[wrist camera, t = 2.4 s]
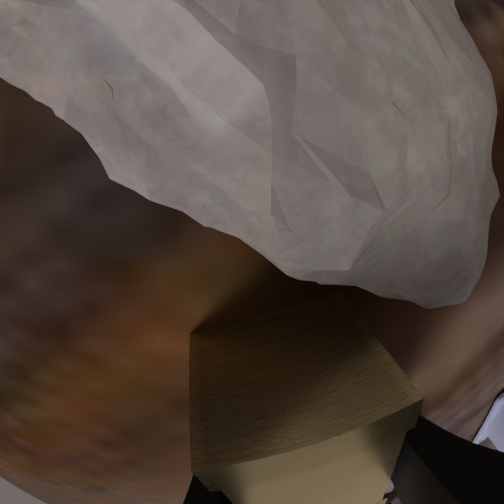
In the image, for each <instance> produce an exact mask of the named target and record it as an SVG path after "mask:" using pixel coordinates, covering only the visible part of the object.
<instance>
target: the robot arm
mask: <svg viewBox="0 0 504 504" xmlns="http://www.w3.org/2000/svg"><path fill="white" fill-rule="evenodd" d="M487 437H489V439H490V440H491V441H492V443H493V444H494V445H495V446H496V448H497V449H498V450H499V451H497V450H494V449H490V448H487V447H484V446H481V445H478V444H479V443H480V442H481V441H483V440H484V439H485V438H487ZM391 481H392V483H393V485H394V487H395V490H396V492H397V494H398V497H399V499H400V501H401V504H504V392H503V393H502V394H501V395H500V396H499V397H498V398H497V399H496V400H495V402H494V404H493V406H492V408H491V410H490V412H489V414H488V416H487V418H486V419H485V421H484V423H483V425H482V427H481V428H480V430H479V432H478V434H477V435H476V437H475V439H474V440H473V442H470V441H468V440H465V439H463V438H461V437H458V436H456V435H454V434H452V433H450V432H448V431H446V430H444V429H443V428H441V427H439V426H437V425H436V424H434V423H432V422H431V421H429V420H427V419H426V418H424V417H423V416H421V415H420V414H419V416H418V419H417V422H416V426H415V427H414V428H412V429H410V430H408V431H406V434H405V438H404V441H403V444H402V447H401V450H400V453H399V456H398V459H397V462H396V465H395V468H394V471H393V473H392V476H391ZM183 504H233V503H232V502H231V501H230V500H229V499H228V498H227V497H226V496H225V494H224V493H223V492H222V491H221V490H219V491H211V492H210V491H209V490H208V489H207V488H206V487H205V486H204V484H203V483H202V482H201V481H200V480H199V479H198V478H197V477H196V476H195V475H194V474H193V477H192V480H191V483H190V486H189V489H188V492H187V495H186V497H185V500H184V503H183Z"/></svg>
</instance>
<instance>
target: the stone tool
mask: <svg viewBox="0 0 504 504" xmlns="http://www.w3.org/2000/svg"><path fill="white" fill-rule="evenodd" d="M0 77H1V78H2V79H4V80H5V81H7V82H8V83H10V84H12V85H14V86H16V87H18V88H20V89H22V90H25V91H26V92H27V93H28V94H29V95H31V96H32V97H33V98H34V99H35V100H37V101H40V102H41V103H43V104H45V105H47V106H48V107H50V108H52V110H53V111H54V113H55V114H56V116H57V117H59V118H61V119H63V120H65V122H66V123H68V124H69V125H70V126H72V127H73V128H75V129H76V130H77V131H79V132H80V133H81V134H82V135H83V136H84V138H85V139H86V141H87V142H88V143H89V145H90V146H91V147H92V149H93V150H94V151H95V153H96V154H97V155H98V157H99V158H100V160H101V162H102V164H103V166H104V168H105V170H106V172H107V174H108V176H109V178H110V179H111V180H113V181H115V182H117V183H120V184H122V185H124V186H126V187H128V188H130V189H132V190H134V191H136V192H138V193H139V194H141V195H142V196H144V197H146V198H147V199H149V200H150V201H153V202H156V203H159V204H162V205H165V206H168V207H171V208H174V209H177V210H180V211H183V212H184V213H186V214H187V215H189V216H190V217H191V218H193V219H194V220H196V221H197V222H199V223H200V224H202V225H203V226H206V227H211V228H214V229H216V230H219V231H222V232H224V233H227V234H230V235H232V236H235V237H238V238H240V239H241V240H242V241H244V242H245V243H246V244H248V245H249V246H251V247H252V248H253V249H255V250H256V251H257V252H259V253H260V254H262V255H263V256H264V257H265V258H267V259H268V260H269V261H270V262H272V263H273V264H274V265H275V266H276V267H278V268H279V269H280V270H281V271H283V272H284V273H285V274H286V275H288V276H290V277H293V278H295V279H298V280H305V281H315V282H317V283H318V284H336V285H350V286H357V287H360V288H362V289H365V290H368V291H370V292H372V293H374V294H376V295H378V296H381V297H384V298H394V299H401V300H406V301H411V302H413V303H415V304H417V305H419V306H421V307H423V308H429V309H433V308H437V307H442V306H447V305H457V304H461V303H463V302H465V301H467V299H468V297H469V296H470V294H471V293H472V291H473V289H474V288H475V286H476V284H477V282H478V281H479V280H480V277H481V274H482V271H483V268H484V265H485V261H486V256H487V249H488V233H489V223H490V217H491V214H492V212H493V209H494V207H495V205H496V203H497V201H498V199H499V197H500V193H499V188H498V184H497V180H496V177H495V175H494V172H493V169H492V160H491V153H492V145H493V139H494V133H495V126H496V118H497V103H496V96H495V90H494V85H493V81H492V76H491V72H490V71H489V69H488V67H487V65H486V63H485V62H484V60H483V58H482V57H481V55H480V53H479V51H478V49H477V47H476V45H475V43H474V41H473V39H472V38H471V36H470V34H469V33H468V31H467V30H466V28H465V26H464V25H463V23H462V22H461V20H460V18H459V15H458V12H457V10H456V7H455V5H454V0H0Z"/></svg>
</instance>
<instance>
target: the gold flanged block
mask: <svg viewBox="0 0 504 504" xmlns="http://www.w3.org/2000/svg"><path fill="white" fill-rule="evenodd" d="M422 402H423V397H422V396H421V394H420V393H419V392H418V390H417V389H416V388H415V386H414V385H413V384H412V382H411V381H410V380H409V379H408V377H407V376H406V375H405V373H404V372H403V371H402V369H401V368H400V367H399V366H398V364H397V363H396V362H395V360H394V359H393V358H392V357H391V355H390V354H389V353H388V352H387V350H386V349H385V348H384V347H383V345H382V344H381V343H380V341H379V340H378V339H377V338H376V336H375V335H374V334H373V333H372V331H371V330H370V329H369V328H368V327H367V325H366V324H365V323H364V322H363V320H362V319H361V318H360V317H359V315H358V314H357V313H356V312H355V311H354V309H353V308H352V307H351V306H350V304H349V303H348V302H347V301H346V300H345V298H344V297H343V296H342V295H341V294H340V292H339V293H336V294H333V295H329V296H326V297H323V298H320V299H316V300H313V301H310V302H307V303H303V304H300V305H297V306H293V307H290V308H286V309H283V310H279V311H276V312H272V313H269V314H265V315H261V316H258V317H254V318H250V319H247V320H243V321H239V322H235V323H232V324H228V325H224V326H220V327H216V328H212V329H208V330H204V331H200V332H196V333H191V334H190V357H189V406H190V448H191V471H192V472H193V473H194V475H195V476H196V477H197V478H198V479H199V480H200V481H201V482H202V483H203V484H204V486H205V487H206V488H207V489H208V490H209V491H210V492H211V491H219V490H221V491H222V492H223V493H224V494H225V496H226V497H227V498H228V499H229V500H230V501H231V502H232V503H233V504H385V503H386V501H387V498H388V497H387V495H386V493H385V492H386V489H387V487H388V484H389V481H390V479H391V476H392V473H393V471H394V468H395V465H396V462H397V459H398V456H399V453H400V450H401V447H402V444H403V441H404V438H405V434H406V431H408V430H410V429H412V428H414V427H415V426H416V422H417V419H418V416H419V412H420V409H421V405H422Z"/></svg>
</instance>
